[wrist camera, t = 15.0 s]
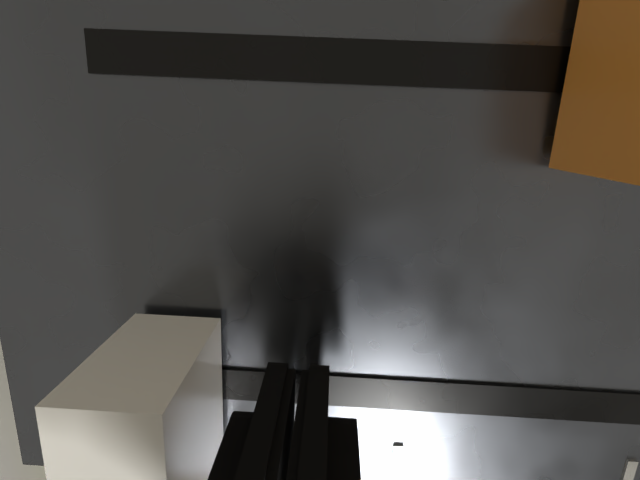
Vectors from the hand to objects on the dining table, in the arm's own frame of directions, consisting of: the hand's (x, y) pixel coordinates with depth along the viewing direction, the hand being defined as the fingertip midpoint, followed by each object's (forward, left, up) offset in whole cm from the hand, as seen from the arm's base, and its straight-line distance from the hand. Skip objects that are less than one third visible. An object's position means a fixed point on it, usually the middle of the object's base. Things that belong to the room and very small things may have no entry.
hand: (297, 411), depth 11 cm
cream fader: (+3, 0, -1) cm, 4 cm away
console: (-3, -4, -3) cm, 6 cm away
